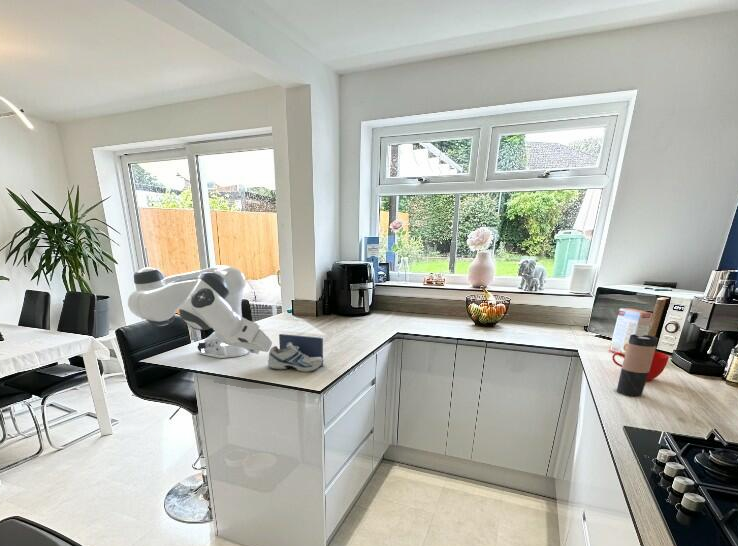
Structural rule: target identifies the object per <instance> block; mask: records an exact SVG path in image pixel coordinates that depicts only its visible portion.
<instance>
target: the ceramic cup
mask: <svg viewBox="0 0 738 546" xmlns="http://www.w3.org/2000/svg"><path fill="white" fill-rule="evenodd" d="M617 355H619V356H620V357H621V356H622V358H624V357H625V355H624V354H622V353H613V354H612V358H611V359H612V362H613V363H614V364H615V365H617V366H619V367H621V368H622V365H623V364H621V363H619V362H618V361H616V358H615V357H616V356H617ZM669 359H670V356H669V355H668V354H666V353H663V352H660V351H656V350H655V352H654V356H653V360H652V363H651V367H650V371H649V374H648V377H647V380H646V382H651V381H652V380H654V379H656V378H658V377H659V376H660V375H661V374H662V373H663V372H664V370H665V369H666V366H667V364H668V361H669Z"/></svg>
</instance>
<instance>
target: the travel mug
mask: <svg viewBox="0 0 738 546" xmlns="http://www.w3.org/2000/svg"><path fill="white" fill-rule="evenodd" d="M658 341H659V338H658V337H656V336H655V335H654V336H653V335H649V334H647V335H644V336H636V335H631V336H630V339H629V343H628V346H627V350H626V354H625V357H623V361H622V364H621V365H622V367H621V369H620V372H619V373H620V374H619V377H618V378H619V379H618V383H617V386H616V387H617V388H616V392H617V393H618V394H620V395H622V396H627V397H631V398H639V397H642V395H643V393H644V390H645V387H646V383H647V381H646V380H647V377H648V374H649V371H650V367H651V363H652V360H653V356H654V352H655V351H656V348H657V344H658Z"/></svg>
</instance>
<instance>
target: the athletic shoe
mask: <svg viewBox="0 0 738 546" xmlns="http://www.w3.org/2000/svg"><path fill="white" fill-rule="evenodd" d="M296 347H297V348H296ZM322 363H323V364H324V357H323V358H321V357H309V356H306V355H305V354H304V353H301V351H300V350H299V347H298V346H293V343H291V342H289V343H287V345H286V349H283V350H280V348H279V347H278V346H277V345H274V346H273V347H271V348H270V349H269V351H268V359H267V366H268V368H269V369H272V370H278V371H282V370H288V369H289V368H293V369H294V370H296V371H299V372H303V373H309V372H313V371H315V370H317V369H319V368H321V367H320V366H321V365H322Z"/></svg>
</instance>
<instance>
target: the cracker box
mask: <svg viewBox="0 0 738 546" xmlns="http://www.w3.org/2000/svg"><path fill="white" fill-rule="evenodd" d="M653 316H654V313H653V312H649V311H645V310H642V309H641V310H640V309H635V308H629V307H621V308H619V309H618V313H617V318H616V322H615V327H614V330H613V333H612V338H611V342H610V346H609V350H608V352H611V353H613V354H615V353H622V354H624V355H625V354H626V350H627V346H628V343H629V339H630V336H631V335H636V336H644V335H649V334H648V333H649V330H650V327H651V323H652V321H653V320H652V319H653Z"/></svg>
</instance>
